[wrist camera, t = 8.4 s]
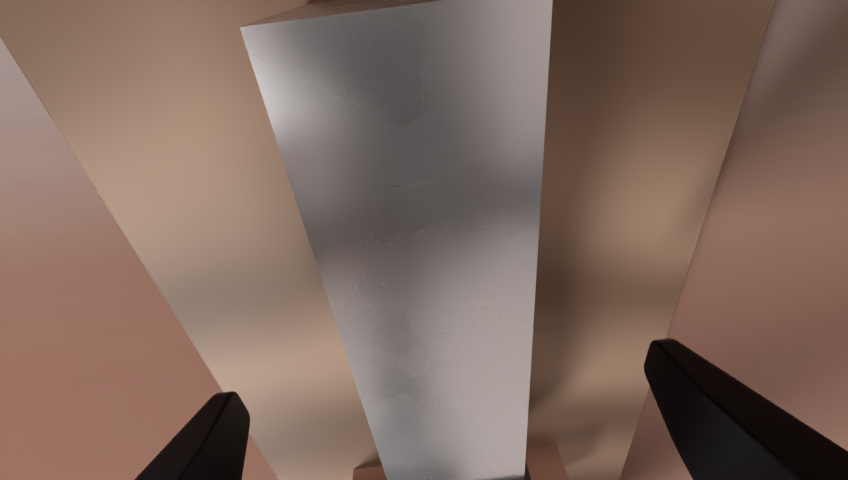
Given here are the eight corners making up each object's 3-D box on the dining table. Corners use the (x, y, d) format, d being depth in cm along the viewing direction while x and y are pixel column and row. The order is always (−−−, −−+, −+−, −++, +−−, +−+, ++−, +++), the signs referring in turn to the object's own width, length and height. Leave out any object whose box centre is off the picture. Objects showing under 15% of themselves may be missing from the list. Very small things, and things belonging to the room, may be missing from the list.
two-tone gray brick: (499, 429, 15) (526, 548, 12) (404, 440, 15) (407, 562, 12) (494, -21, 7) (572, -16, 4) (297, 5, 7) (220, 30, 4)
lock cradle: (608, 457, 18) (649, 548, 15) (306, 493, 19) (289, 589, 16) (888, -542, 5) (1557, -1238, 2) (-195, -384, 5) (-935, -830, 2)
